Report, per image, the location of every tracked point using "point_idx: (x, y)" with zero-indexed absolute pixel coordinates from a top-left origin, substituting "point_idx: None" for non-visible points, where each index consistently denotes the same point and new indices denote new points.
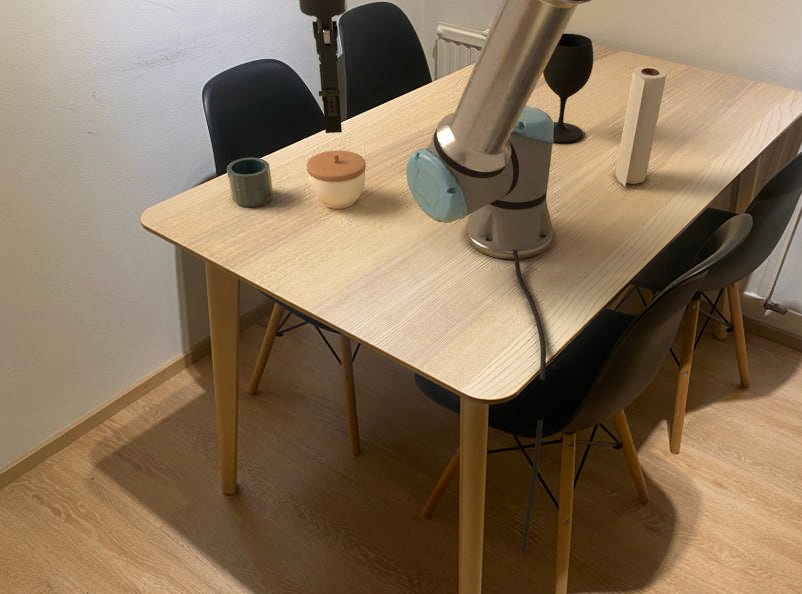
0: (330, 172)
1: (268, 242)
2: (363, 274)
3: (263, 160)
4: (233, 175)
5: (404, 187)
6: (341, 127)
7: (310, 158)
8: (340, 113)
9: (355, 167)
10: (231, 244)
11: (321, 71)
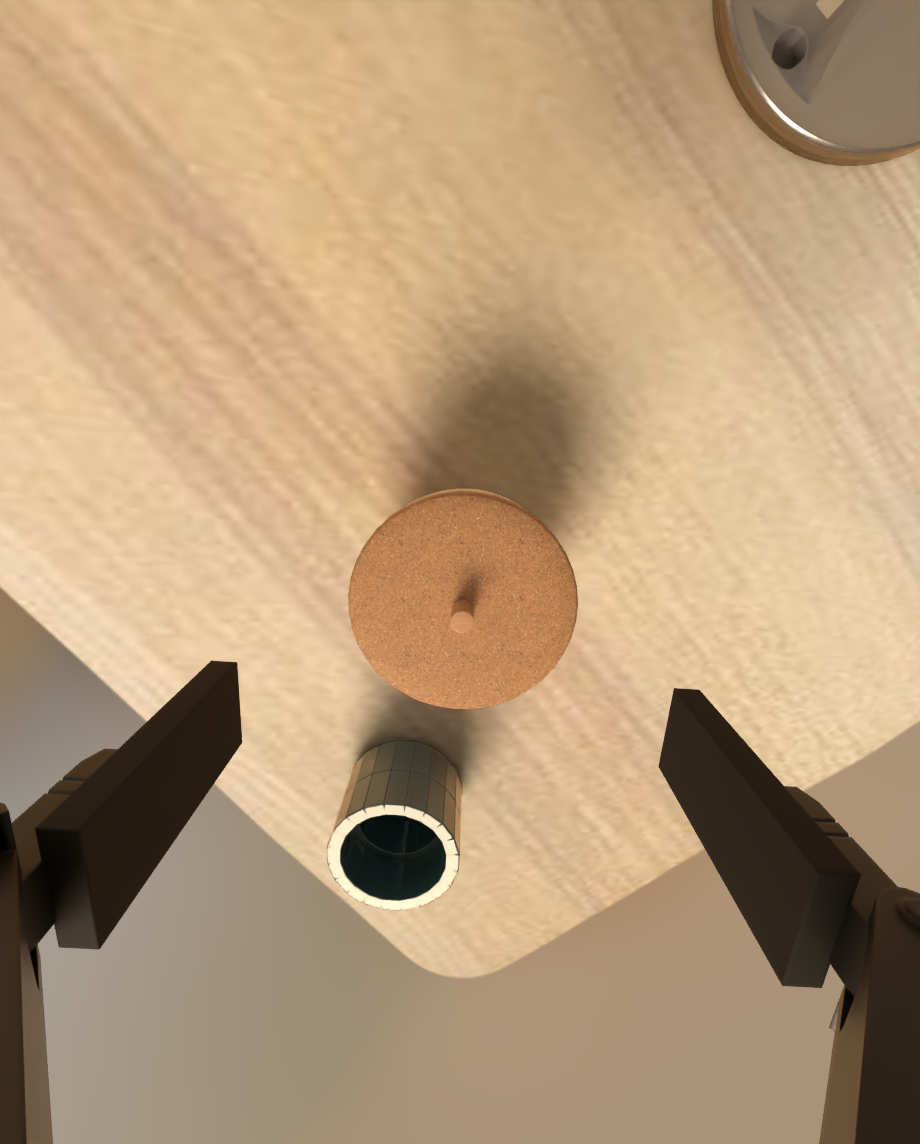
0: (544, 639)
1: (645, 759)
2: (890, 549)
3: (354, 817)
4: (440, 893)
5: (406, 328)
6: (711, 704)
7: (409, 693)
8: (759, 760)
9: (523, 542)
10: (628, 834)
11: (135, 887)
